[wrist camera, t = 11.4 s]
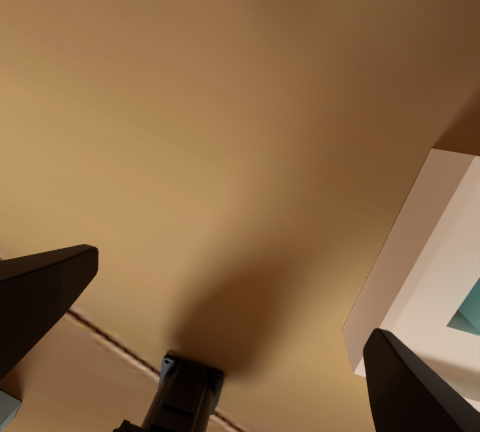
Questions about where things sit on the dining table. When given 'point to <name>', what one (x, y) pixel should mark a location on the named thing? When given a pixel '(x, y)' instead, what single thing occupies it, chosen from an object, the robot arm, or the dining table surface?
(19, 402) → the gum box
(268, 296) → the dining table surface
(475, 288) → the tall teal block
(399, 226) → the box
